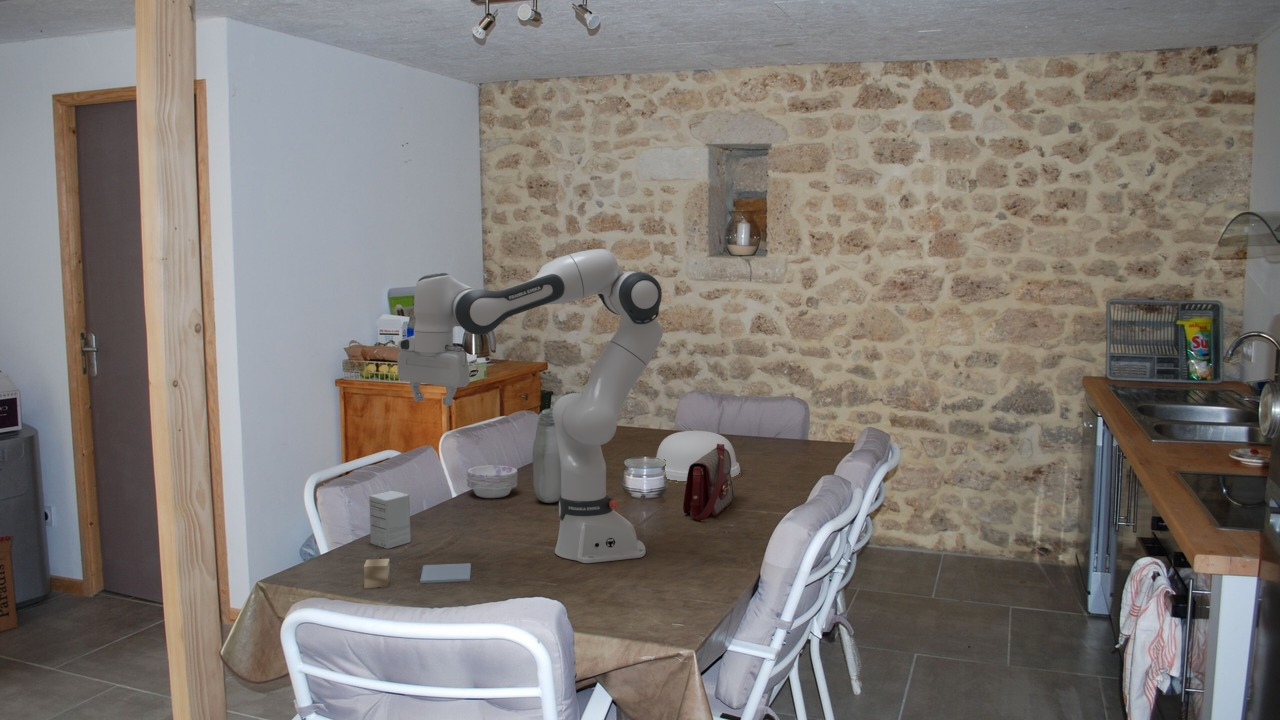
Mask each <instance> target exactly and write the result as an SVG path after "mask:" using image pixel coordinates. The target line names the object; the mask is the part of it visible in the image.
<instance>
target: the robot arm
mask: <svg viewBox="0 0 1280 720" xmlns="http://www.w3.org/2000/svg"><path fill="white" fill-rule="evenodd" d="M662 290H663V289H662V288H661V285H660V283H659V281H658V280H657V279H656V278H655V277H654V276H653V275H651V274H649V273H646V272H644V271H643V272H641V271H632V270H631V271H630V270H629V271H623V270H621V268H620V266H619V263H618V260H617V258H616V257H615V255H614V254H613V253H612V252H611V251H609V250H608V249H606V248H595V249H586V250H581V251H576V252H573V253H569V254H566V255H563V256H560V257H558V258H555V259H552V260H551V261H549V262H547V263H545V264H544V265H542V266H541V268H540V269H539V271H538V273H537V274H536V275H535V276H534V277H533V278H531V279H529V280H527V281H524V282H522V283H518V284H516V285H512V286H509V287H506V288H503V289H501V290H487V289H477V288H476V287H472V286H469V285H467V284H466V283H463V282H461V281H460V280H457V279H455V278H454V277H453V276H451V275H450V274H449V273H446V272H443V273H442V272H441V273H432V274H427V275H424V276H423V275H422V277H420V278H419V279H418V280H417V282H416V285H415V289H414V297H413V300H414V301H413V314H414V318H415V322H414V326H413V327H414V328H413V335H412V336H411V335H410V336H407V338H403V339H400V340H398V342H397V347H398V350H400V351H399V352H398V353H397V367H396V368H397V376H398V379H399V380H400V381H406V382H409V386H410V389H411V391H412V394H413V401H415V402H423V401H424V399H425V397H424V396H425V395H424V394H425V393H424V392H422V390H421V388H420V386H421V385H422V384H428V385H436V386H443V387H445V391H446V392H447V393H446V394H445V397H442V406H446V407H447V406H449V407H450V406H453V402H454V401H453V400H454V396H455V395H456V394H457V393H456V392H457V391H458V390H457V389H458V388H465V387H467V386H468V385H469V384H470V370H469V367H470V366H469V362H468V353H467V352H466V350H465V349H464V348H463V347H462V346H455V345H454V344H453V341H454V338H453V337H454V332H453V331H454V328H455V327H460V328H462V329H463V330H464V331H466V332H468V333H470V334H472V335H486V334H488V333H491V332H492V331H493V330H495V329H496V328H498V327H499V326H500V325H501V324H502V323H503V322H504V321H505V320H507V319H508V318H510V317H512V316H515V315H518V314H521V313H524V312H527V311H529V310H533V309H535V308H538V307H541V306H546V305H547V306H549V305H559V304H565V303H571V302H575V301H578V300H581V299H584V298H587V297H590V296H593V295H597V296H598V297H599V298H600V301H601V303H602V304H603V306H604V307H605V308H606V309H607V310H608V311H609V312H611V313H612V314H615V315H617V316H618V315H619V316H620V322H619V325H618V327H617V328H618V329H617V331H616V333H615V334H614V335H613V336H612V338H611V339H610V340H609V341H608V343H607V344H606V346H605V347H604V349H603V350H602V352H601V353H600V355H599V356H598V358H597V359H596V360H595V362H594V363H593V365H592V367H591V368H590V369H591V370H590V375H589V378H588V381H587V382H586V383H587V384H586V385H585V388H584V390H583V392H582V393H581V392H574V393H573V392H572V393H568V394H564V395H562V396H561V397H559V398H558V399H557V400H556V401H555V403H554V405H553V407H552V408H553V419H554V422H555V427H556V435H557V443H558V449H559V455H560V462H561V496H560V498H559V501H558V516H559V528H558V529H559V530H558V536H557V542H556V545H555V549H554V553H555V554H556V555H557V556H559V557H560V558H563V559H567V560H573V561H577V562H579V563H583V564H593V563H602V562H611V561H621V560H622V561H623V560H630V559H639V558H642V557H644V556H645V555H646V552H647V551H646V546H645V544H644V543H643V541H641V540H639V539H638V538H637V533H636V530H635V527H634V526H633V524H632V523H631V521H629V520H628V519H627V518H625V517H624V516H622V515H621V514H619V512H617V511H615V510H616V509H617V508H618V505H619V504H618V502H617V500H616V499H614V498H613V497H611V495H609V494H607V493H606V492H607V486H606V485H607V467H606V466H607V465H606V464H607V463H606V461H605V458H604V455H603V452H602V450H603V449H602V446H601V445H606V444H607V443H608V442H610V441H611V440H612V439H613V437H615V434H616V432H617V427H618V419H619V416H620V414H621V411H622V410H623V407H624V405H625V402H626V400H627V398H628V396H629V394H630V392H631V390H632V388H633V387H634V386H635V384H636V383H637V382H638V380H639V378H640V376H641V375H642V374H643V372H644V371H645V369H646V368H647V366H648V365H649V363H650V362H651V360H652V358H653V357H654V355H655V353H656V351H657V349H658V347H659V345H660V343H661V340H662V339H663V336H664V335H663V334H664V332H663V331H664V330H663V327H662V325H661V323H660V322H659V321H658V320H657V318H658V317H659V313H660V312H659V311H660V306H661V303H662V297H663V292H662Z"/></svg>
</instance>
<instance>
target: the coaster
mask: <svg viewBox="0 0 1280 720" xmlns="http://www.w3.org/2000/svg"><path fill="white" fill-rule="evenodd" d="M471 568H472V563H470V562H469V563H467V562H466V563H464V562H463V563H445V564H444V563H442V564H424V565H422V570H421V576H420V579H419V580H420V581H419V582H420V584H432V583H433V584H434V583H435V584H437V583H452V582H453V583H456V582H457V583H459V582H471V571H472V569H471Z"/></svg>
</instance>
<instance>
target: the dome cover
mask: <svg viewBox="0 0 1280 720" xmlns="http://www.w3.org/2000/svg"><path fill="white" fill-rule="evenodd" d="M717 444H724V448H725V449H727V450H728V452H729V454H730V457H731V471H730V473H731V477H734V476H736V475H738V474H739V473H740V474H741V466H740V463H739V462H737V459H736V458H737V457H736V453H735V449H734V447H733V445H732V443H731V442H730V441H729V439H727V438H726V437H725V436H723V435H721V434H719V433H715V432H712V431H711V432H710V431H707V430H706V431H705V430H684V431H678V432H675V433H673V434H670V435H668V436H666V437H665V438H664V439H663V440H662V441H661V443H660V444H659V446H658V449H657V452H656V457H655V459H656V458H659V459H665V460H666V466H665V472H666V477H667V479H670V480H677V481H687V475H688V470H689V467H690V465H691V464H693V463H695V462H696V461H697V460H699V459H700V458H701V457H703V456H704V455H706V454H707V453H709V452H710V451H712V450H713V449H715V448H716V447H717Z"/></svg>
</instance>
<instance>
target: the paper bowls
mask: <svg viewBox="0 0 1280 720" xmlns="http://www.w3.org/2000/svg"><path fill="white" fill-rule="evenodd" d="M466 473H467V476H466V481H467V482H466V483H467V487H468V488H470V489H472V491H473V493H474V494H475V495H476V496H477V497H480V498H484V499H497V498H498V499H500V498H504V497H506V496H508V495H509V494H510V493H511V491H512V489H514V488H516V487H518V469H517V468H515V467H512V466H509V465H508V466H507V465H488V464H487V465H478V466H477V465H476V466H474V467H470V468H468V469H467V472H466Z"/></svg>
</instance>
